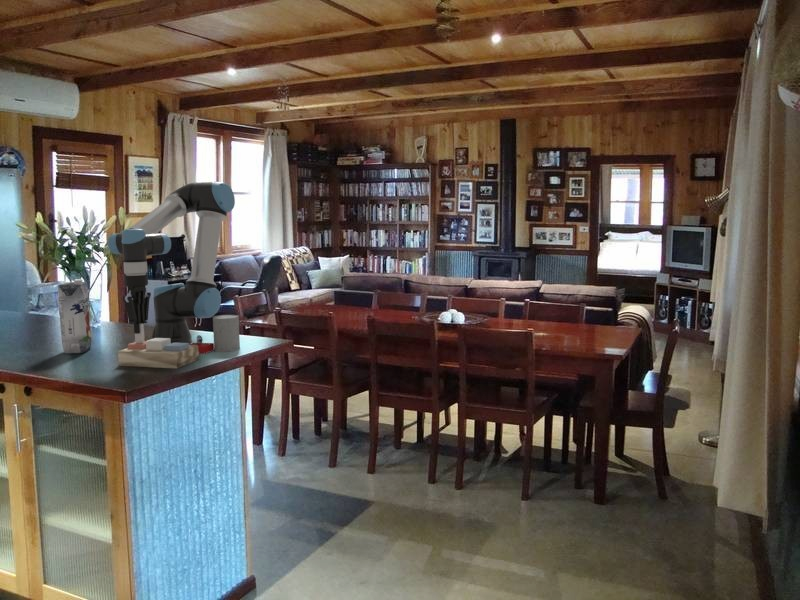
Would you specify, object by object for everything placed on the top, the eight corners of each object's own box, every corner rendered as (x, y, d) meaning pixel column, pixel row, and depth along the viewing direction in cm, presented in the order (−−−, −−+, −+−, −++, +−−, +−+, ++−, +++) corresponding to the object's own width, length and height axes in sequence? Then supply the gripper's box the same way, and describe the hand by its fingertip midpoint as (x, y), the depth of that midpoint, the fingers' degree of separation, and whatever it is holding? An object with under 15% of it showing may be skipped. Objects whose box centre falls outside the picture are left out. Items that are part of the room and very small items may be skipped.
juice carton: (60, 354, 258) (55, 281, 255) (69, 349, 268) (64, 278, 265) (86, 353, 260) (81, 280, 256) (93, 347, 270) (89, 277, 266)
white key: (156, 346, 245) (155, 337, 245) (170, 346, 244) (170, 338, 244) (146, 349, 240) (145, 340, 239) (161, 350, 238) (161, 341, 238)
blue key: (174, 351, 244) (174, 342, 244) (189, 351, 243) (189, 343, 242) (165, 354, 238) (164, 345, 238) (180, 355, 237) (180, 346, 237)
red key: (138, 349, 247) (137, 341, 247) (152, 350, 246) (152, 341, 245) (128, 352, 242) (127, 344, 241) (143, 353, 240) (142, 344, 240)
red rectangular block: (214, 350, 264) (213, 333, 263) (205, 354, 257) (204, 337, 256) (194, 349, 265) (193, 333, 264) (185, 353, 259) (184, 336, 258)
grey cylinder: (225, 345, 271) (224, 314, 270) (245, 347, 267) (244, 315, 265) (208, 350, 263) (206, 317, 261) (228, 352, 258) (227, 319, 257)
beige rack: (143, 357, 252) (142, 343, 251) (198, 359, 247) (198, 345, 246) (118, 365, 238) (117, 351, 238) (177, 368, 233) (176, 353, 233)
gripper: (137, 272, 247) (141, 338, 250) (114, 275, 235) (118, 345, 238) (156, 272, 246) (160, 339, 249) (134, 276, 233) (138, 346, 236)
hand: (139, 342), depth 243 cm, fingers closed
